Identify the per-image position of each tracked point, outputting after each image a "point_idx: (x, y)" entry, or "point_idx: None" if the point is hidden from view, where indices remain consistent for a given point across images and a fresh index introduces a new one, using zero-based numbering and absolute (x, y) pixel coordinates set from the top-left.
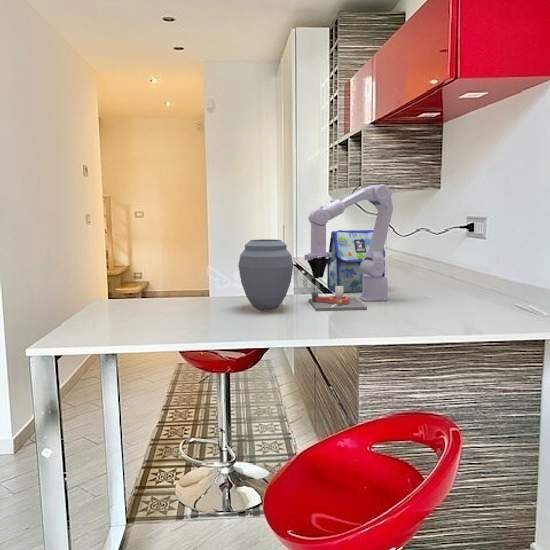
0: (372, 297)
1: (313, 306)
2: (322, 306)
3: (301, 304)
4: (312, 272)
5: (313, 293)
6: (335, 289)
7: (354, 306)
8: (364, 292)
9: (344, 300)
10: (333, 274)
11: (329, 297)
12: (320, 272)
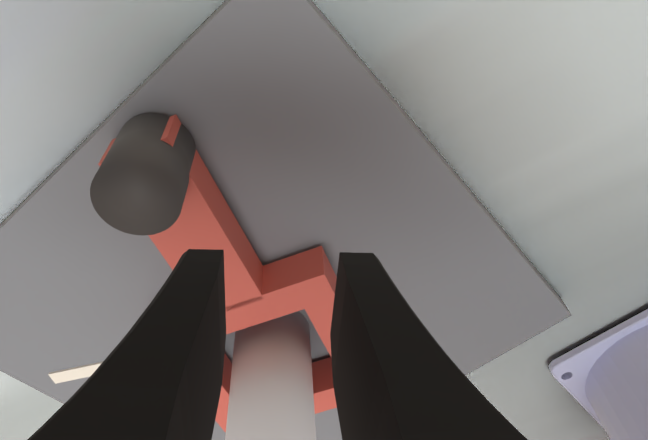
0: (595, 412)
1: (3, 222)
2: (12, 323)
3: (36, 5)
4: (138, 326)
5: (97, 198)
6: (231, 425)
7: None
8: (632, 396)
9: (220, 419)
10: None
11: (227, 302)
12: (350, 385)
